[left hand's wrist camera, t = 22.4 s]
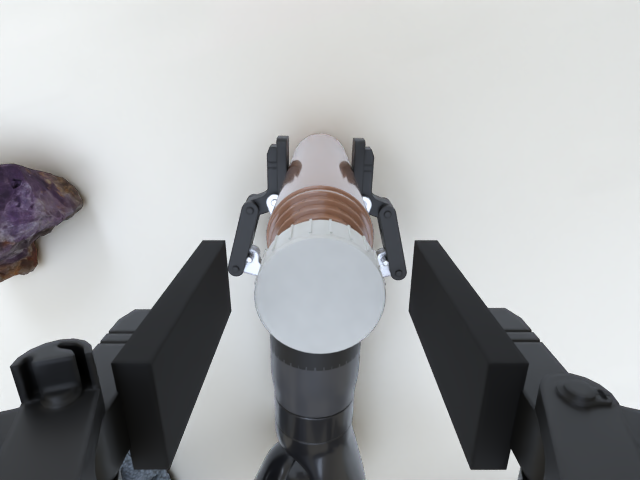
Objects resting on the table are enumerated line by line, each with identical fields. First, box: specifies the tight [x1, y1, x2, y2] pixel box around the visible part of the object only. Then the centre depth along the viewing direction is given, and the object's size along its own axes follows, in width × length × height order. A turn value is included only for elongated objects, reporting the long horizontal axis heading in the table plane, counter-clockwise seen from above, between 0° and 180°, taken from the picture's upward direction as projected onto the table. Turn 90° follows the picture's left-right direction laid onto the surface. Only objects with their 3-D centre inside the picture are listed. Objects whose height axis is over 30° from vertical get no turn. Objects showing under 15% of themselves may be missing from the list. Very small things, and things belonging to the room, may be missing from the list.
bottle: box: [266, 133, 374, 248], centre depth 25 cm, size 5×5×24 cm
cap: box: [255, 219, 386, 354], centre depth 14 cm, size 4×4×2 cm
